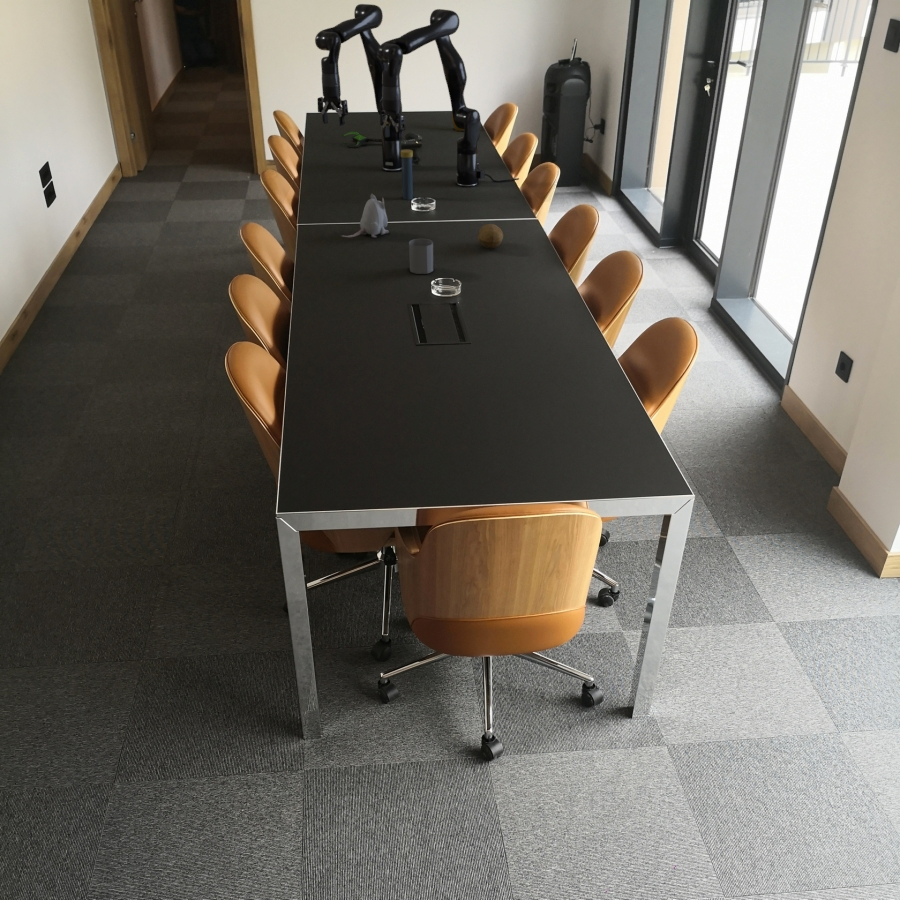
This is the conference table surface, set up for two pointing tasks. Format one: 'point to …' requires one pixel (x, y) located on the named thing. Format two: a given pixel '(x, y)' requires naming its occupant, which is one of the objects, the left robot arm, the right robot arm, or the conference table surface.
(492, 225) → the potato
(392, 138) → the left robot arm
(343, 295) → the conference table surface
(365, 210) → the toy
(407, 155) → the lid
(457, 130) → the apple
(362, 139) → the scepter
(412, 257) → the cup
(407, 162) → the dark blue cylinder
